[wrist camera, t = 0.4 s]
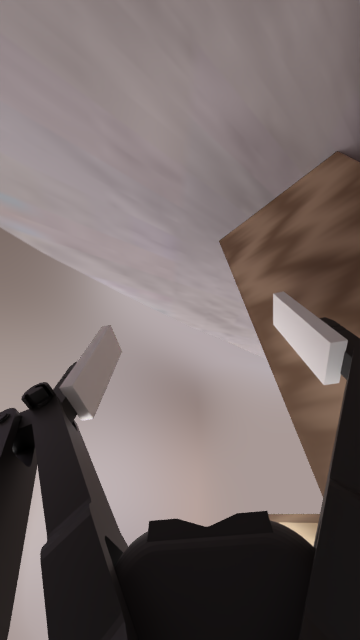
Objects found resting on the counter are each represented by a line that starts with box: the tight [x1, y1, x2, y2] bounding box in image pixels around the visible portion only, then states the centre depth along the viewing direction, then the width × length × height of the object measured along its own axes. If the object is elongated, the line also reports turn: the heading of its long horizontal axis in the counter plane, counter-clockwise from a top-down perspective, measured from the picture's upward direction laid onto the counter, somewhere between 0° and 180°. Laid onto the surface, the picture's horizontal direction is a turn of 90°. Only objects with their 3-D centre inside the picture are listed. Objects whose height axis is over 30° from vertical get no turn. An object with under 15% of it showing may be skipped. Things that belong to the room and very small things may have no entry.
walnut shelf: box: [219, 151, 360, 497], centre depth 23 cm, size 14×26×29 cm, turn 41°
